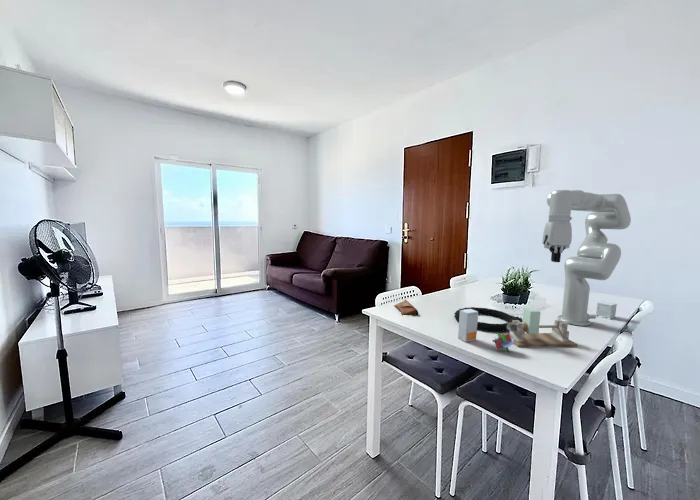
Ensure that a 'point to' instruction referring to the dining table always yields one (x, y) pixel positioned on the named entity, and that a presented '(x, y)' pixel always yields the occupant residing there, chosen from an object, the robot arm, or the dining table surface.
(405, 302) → the sunglasses case
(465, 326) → the skincare box
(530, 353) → the dining table surface
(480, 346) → the dining table surface
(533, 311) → the sleeve
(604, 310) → the skincare box
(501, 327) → the cable lock
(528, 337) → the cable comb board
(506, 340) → the geometric puzzle
